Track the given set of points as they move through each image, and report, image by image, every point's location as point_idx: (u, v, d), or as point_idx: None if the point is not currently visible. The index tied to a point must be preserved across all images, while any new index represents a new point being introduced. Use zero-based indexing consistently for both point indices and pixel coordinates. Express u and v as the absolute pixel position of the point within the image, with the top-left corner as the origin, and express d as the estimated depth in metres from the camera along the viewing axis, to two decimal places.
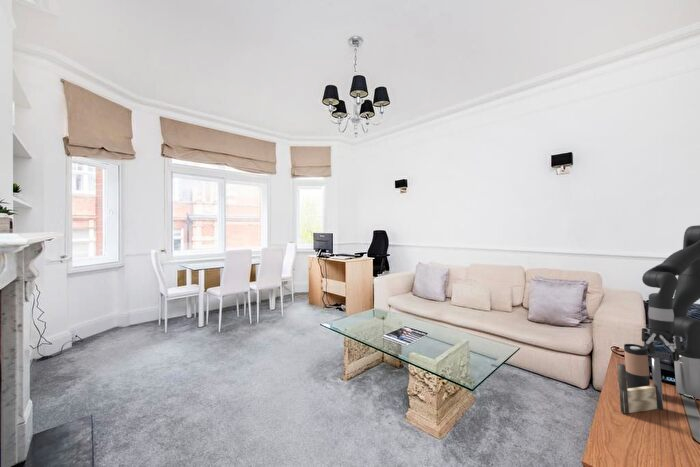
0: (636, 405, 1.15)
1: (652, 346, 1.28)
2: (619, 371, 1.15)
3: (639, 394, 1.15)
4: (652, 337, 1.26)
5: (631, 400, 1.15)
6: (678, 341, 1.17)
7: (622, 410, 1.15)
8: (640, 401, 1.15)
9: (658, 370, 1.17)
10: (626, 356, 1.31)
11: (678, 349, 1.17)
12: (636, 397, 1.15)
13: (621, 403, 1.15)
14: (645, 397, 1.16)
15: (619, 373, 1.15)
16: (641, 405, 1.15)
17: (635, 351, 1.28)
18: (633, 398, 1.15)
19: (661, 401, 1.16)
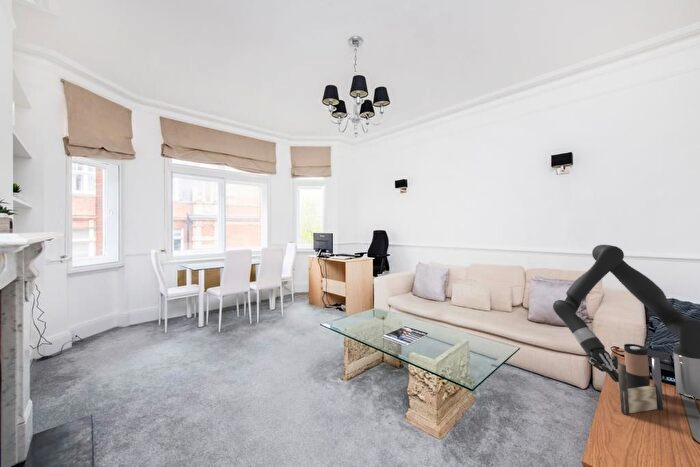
0: (636, 406, 1.15)
1: None
2: (619, 371, 1.15)
3: (639, 394, 1.15)
4: None
5: (632, 400, 1.15)
6: (592, 364, 1.23)
7: (622, 410, 1.15)
8: (640, 401, 1.15)
9: (658, 370, 1.17)
10: (626, 356, 1.31)
11: None
12: (636, 397, 1.15)
13: (621, 403, 1.15)
14: (645, 397, 1.16)
15: (619, 373, 1.15)
16: (641, 405, 1.15)
17: (635, 351, 1.28)
18: (634, 398, 1.15)
19: (661, 401, 1.16)
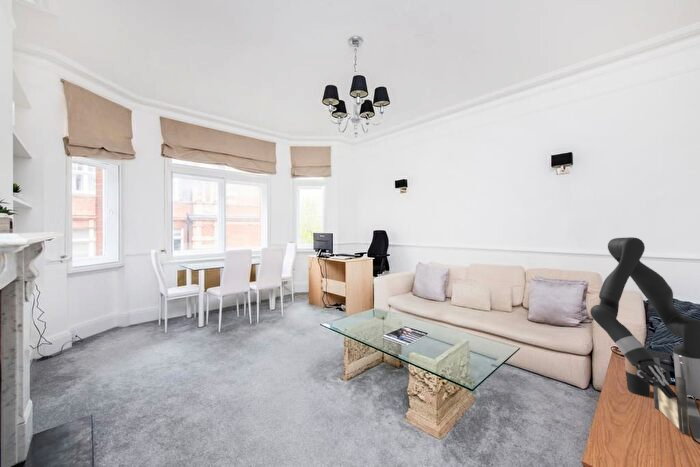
0: None
1: None
2: (683, 387, 1.02)
3: None
4: None
5: None
6: (641, 378, 1.10)
7: (686, 431, 1.02)
8: None
9: None
10: None
11: None
12: None
13: (685, 423, 1.02)
14: None
15: (683, 389, 1.02)
16: None
17: None
18: None
19: None
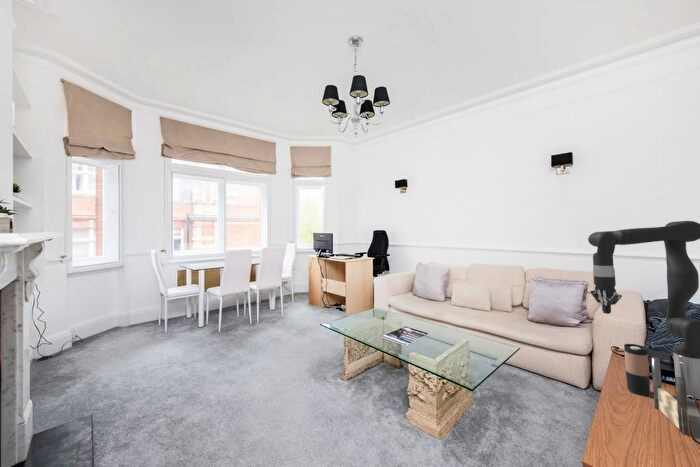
0: None
1: None
2: (683, 387, 1.02)
3: None
4: (599, 294, 1.34)
5: None
6: (615, 298, 1.28)
7: (686, 431, 1.02)
8: None
9: (658, 370, 1.17)
10: (626, 356, 1.31)
11: (609, 302, 1.30)
12: None
13: (685, 423, 1.02)
14: None
15: (683, 389, 1.02)
16: None
17: (635, 351, 1.28)
18: None
19: None
